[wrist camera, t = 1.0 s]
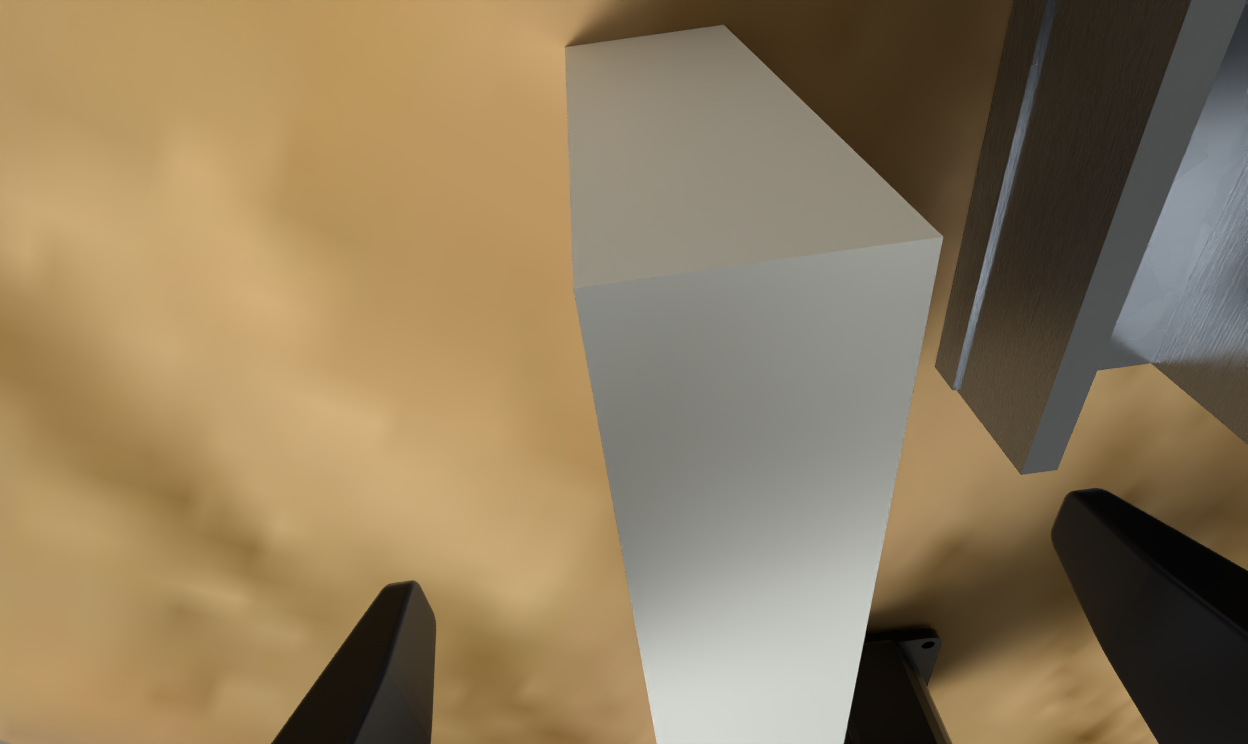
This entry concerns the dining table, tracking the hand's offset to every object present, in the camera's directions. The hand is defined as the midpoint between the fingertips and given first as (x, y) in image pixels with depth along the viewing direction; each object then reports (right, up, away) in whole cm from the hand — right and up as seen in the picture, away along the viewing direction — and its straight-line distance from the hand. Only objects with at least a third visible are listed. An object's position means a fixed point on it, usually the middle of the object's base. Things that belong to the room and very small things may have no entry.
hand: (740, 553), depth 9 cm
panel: (-1, +5, +6) cm, 8 cm away
